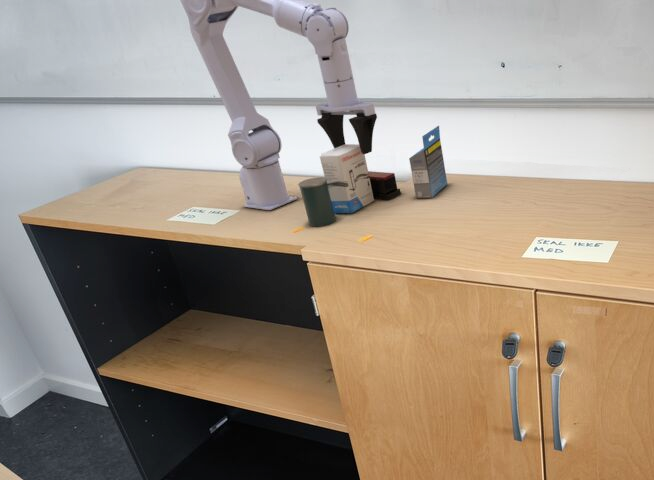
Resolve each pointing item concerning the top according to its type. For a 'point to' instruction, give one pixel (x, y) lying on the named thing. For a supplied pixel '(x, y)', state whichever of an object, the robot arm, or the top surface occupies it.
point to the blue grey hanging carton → (429, 167)
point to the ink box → (347, 178)
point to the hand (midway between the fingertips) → (353, 152)
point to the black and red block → (383, 185)
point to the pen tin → (317, 201)
